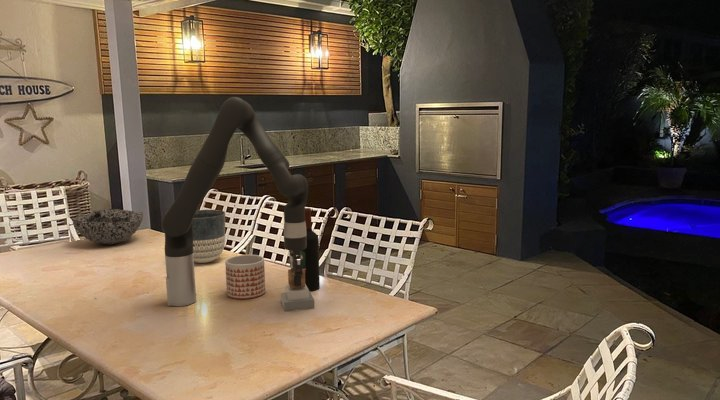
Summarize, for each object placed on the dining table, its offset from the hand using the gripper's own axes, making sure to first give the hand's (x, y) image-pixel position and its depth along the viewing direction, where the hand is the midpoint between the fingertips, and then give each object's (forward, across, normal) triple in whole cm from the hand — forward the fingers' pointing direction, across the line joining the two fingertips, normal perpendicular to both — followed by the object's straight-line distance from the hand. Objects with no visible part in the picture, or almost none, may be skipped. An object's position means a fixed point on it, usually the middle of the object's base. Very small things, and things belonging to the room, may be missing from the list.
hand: (296, 283), depth 184 cm
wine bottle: (+8, +16, -7) cm, 19 cm away
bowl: (+8, +114, +77) cm, 138 cm away
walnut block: (+1, 0, 0) cm, 1 cm away
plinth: (+8, 0, 0) cm, 8 cm away
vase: (+8, +17, +16) cm, 25 cm away
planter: (+8, +65, +31) cm, 72 cm away
